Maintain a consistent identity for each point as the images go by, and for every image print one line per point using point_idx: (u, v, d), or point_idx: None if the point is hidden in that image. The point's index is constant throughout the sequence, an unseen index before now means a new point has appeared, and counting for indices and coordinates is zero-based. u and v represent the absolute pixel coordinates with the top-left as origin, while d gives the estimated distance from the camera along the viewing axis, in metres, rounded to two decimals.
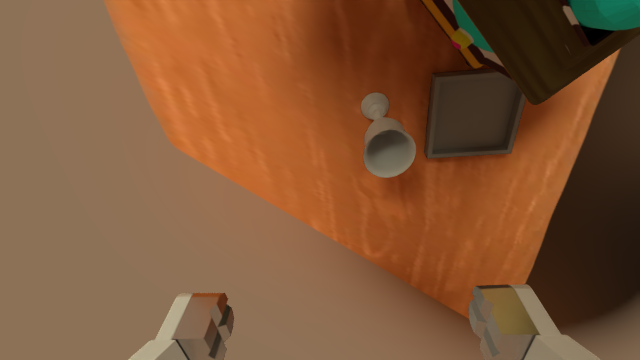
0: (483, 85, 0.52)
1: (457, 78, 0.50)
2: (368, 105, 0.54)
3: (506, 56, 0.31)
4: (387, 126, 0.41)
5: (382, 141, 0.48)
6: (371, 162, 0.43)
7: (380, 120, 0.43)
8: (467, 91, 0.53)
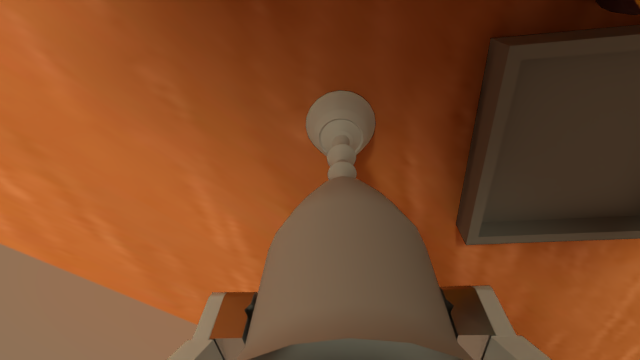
0: (632, 71, 0.19)
1: (574, 48, 0.17)
2: (320, 124, 0.20)
3: None
4: (339, 271, 0.08)
5: None
6: None
7: (319, 212, 0.10)
8: (584, 87, 0.20)
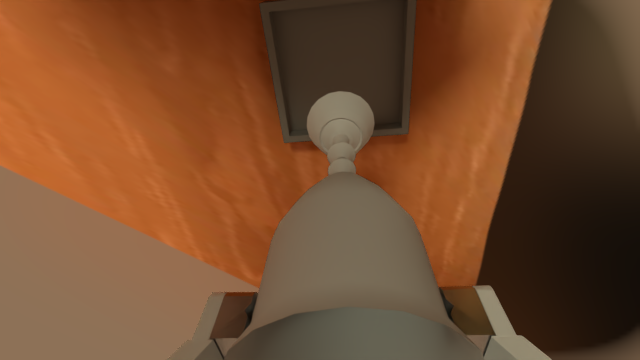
0: (347, 20, 0.32)
1: (294, 4, 0.30)
2: (320, 124, 0.21)
3: None
4: (339, 253, 0.08)
5: None
6: None
7: (320, 202, 0.10)
8: (324, 31, 0.33)
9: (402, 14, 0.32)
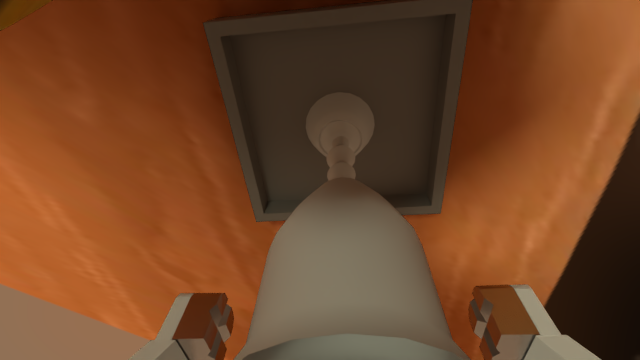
0: (351, 49, 0.20)
1: (262, 25, 0.18)
2: (319, 126, 0.21)
3: None
4: (337, 270, 0.08)
5: None
6: None
7: (319, 213, 0.10)
8: (314, 66, 0.21)
9: (440, 39, 0.19)
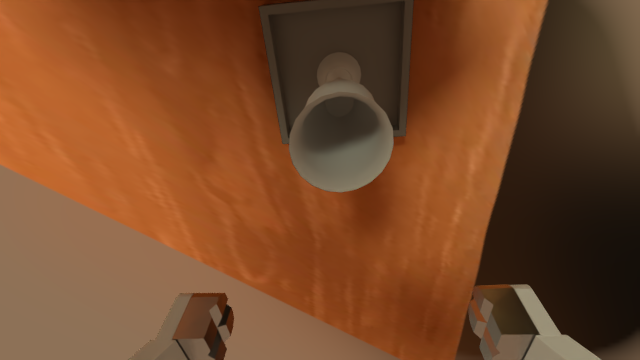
0: (345, 24, 0.33)
1: (293, 8, 0.31)
2: (326, 72, 0.33)
3: None
4: (336, 91, 0.20)
5: (342, 127, 0.28)
6: (311, 163, 0.23)
7: (328, 83, 0.23)
8: (323, 34, 0.33)
9: (399, 17, 0.32)
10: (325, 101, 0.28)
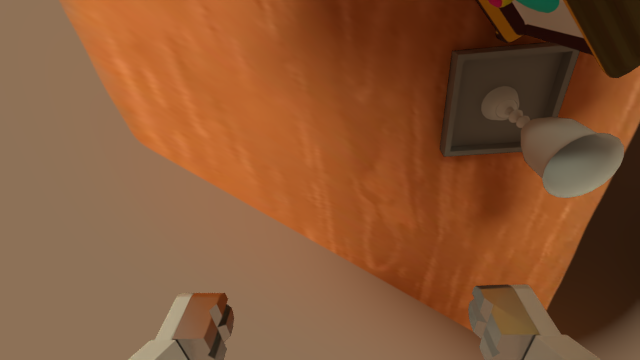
0: (516, 65, 0.42)
1: (485, 55, 0.40)
2: (497, 102, 0.43)
3: (583, 2, 0.21)
4: (579, 129, 0.30)
5: None
6: (543, 177, 0.33)
7: (557, 121, 0.32)
8: (495, 73, 0.43)
9: (559, 61, 0.42)
10: None
